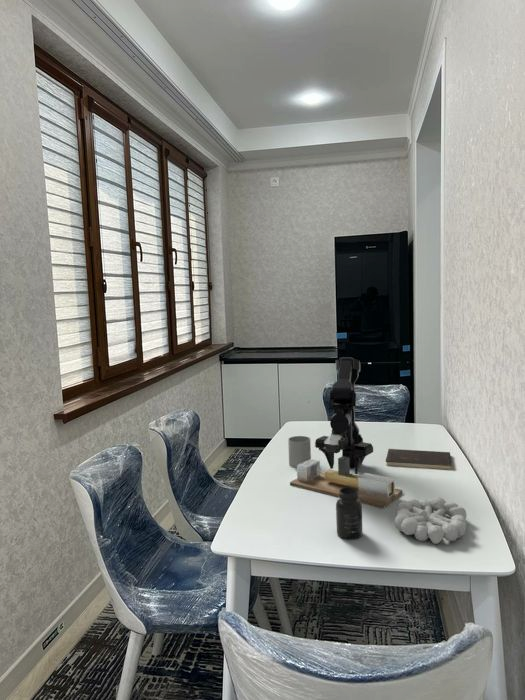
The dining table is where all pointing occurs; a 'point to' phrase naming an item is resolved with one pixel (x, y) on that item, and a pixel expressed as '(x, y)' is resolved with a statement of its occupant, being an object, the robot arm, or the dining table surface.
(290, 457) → the cup
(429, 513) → the campfire
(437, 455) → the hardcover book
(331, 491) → the board
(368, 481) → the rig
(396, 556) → the dining table surface
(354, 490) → the supplement bottle
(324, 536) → the dining table surface
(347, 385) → the robot arm
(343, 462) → the brass t-shaped handle
